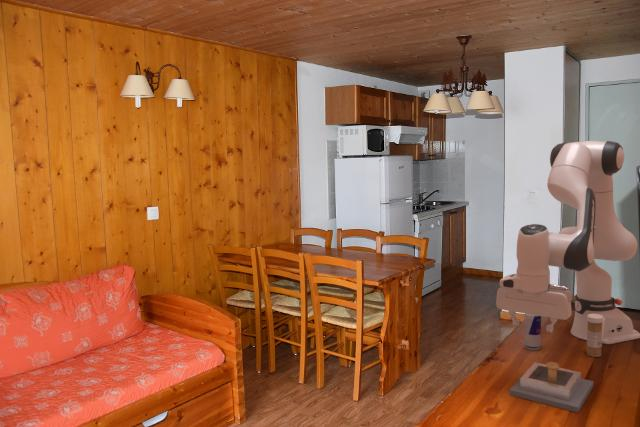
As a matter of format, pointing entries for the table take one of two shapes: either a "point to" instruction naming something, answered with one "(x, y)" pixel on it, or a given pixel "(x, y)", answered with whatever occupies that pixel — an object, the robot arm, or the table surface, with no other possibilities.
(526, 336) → the energy drink
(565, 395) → the ring link
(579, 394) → the keeper board
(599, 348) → the sprinkles bottle
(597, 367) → the table surface
